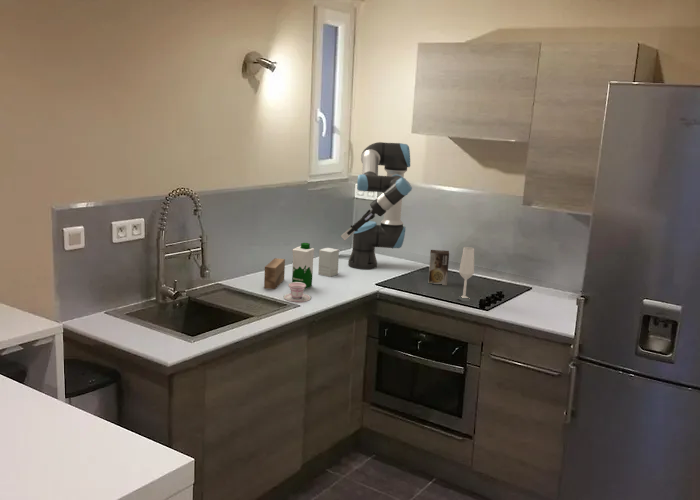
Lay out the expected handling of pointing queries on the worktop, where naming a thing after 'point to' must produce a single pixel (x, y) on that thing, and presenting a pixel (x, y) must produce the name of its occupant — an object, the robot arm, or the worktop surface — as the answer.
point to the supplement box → (328, 262)
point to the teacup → (297, 292)
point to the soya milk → (303, 264)
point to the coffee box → (438, 267)
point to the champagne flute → (467, 266)
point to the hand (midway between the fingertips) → (343, 237)
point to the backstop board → (274, 273)
